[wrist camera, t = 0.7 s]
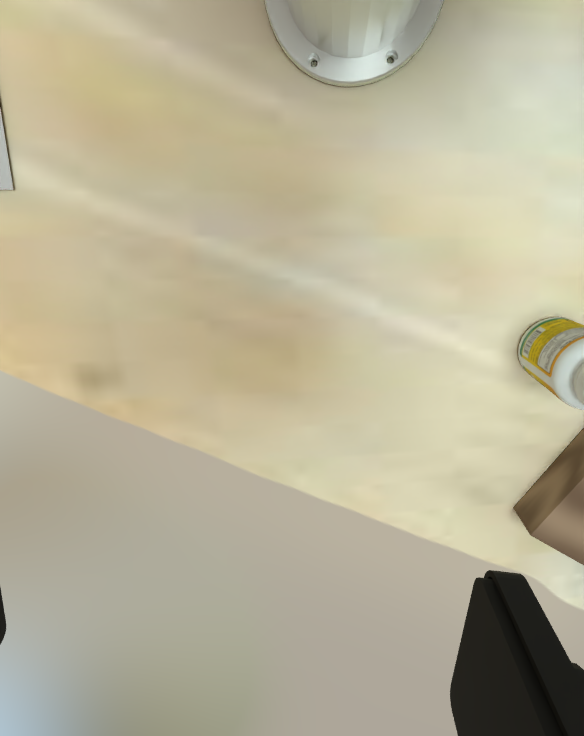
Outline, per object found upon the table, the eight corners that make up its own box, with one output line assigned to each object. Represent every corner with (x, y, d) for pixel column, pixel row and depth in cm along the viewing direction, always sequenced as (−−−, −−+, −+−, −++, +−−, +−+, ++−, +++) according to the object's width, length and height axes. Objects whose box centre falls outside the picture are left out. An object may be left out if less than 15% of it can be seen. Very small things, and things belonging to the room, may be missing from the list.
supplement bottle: (510, 327, 38) (566, 360, 29) (579, 307, 37) (660, 335, 28) (522, 386, 40) (579, 436, 30) (589, 369, 39) (669, 415, 29)
